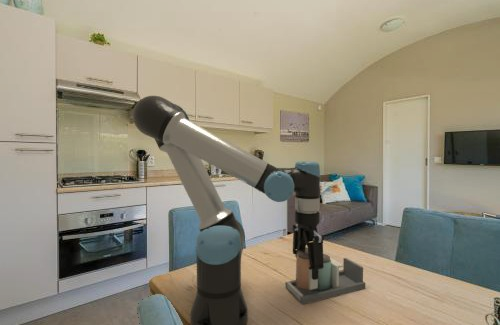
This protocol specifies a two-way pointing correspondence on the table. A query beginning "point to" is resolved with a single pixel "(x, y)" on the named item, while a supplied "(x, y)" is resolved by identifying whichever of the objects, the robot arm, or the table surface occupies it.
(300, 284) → the jar terracotta
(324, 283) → the jar teal
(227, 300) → the robot arm
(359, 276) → the lane
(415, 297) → the table surface
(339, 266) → the pusher
